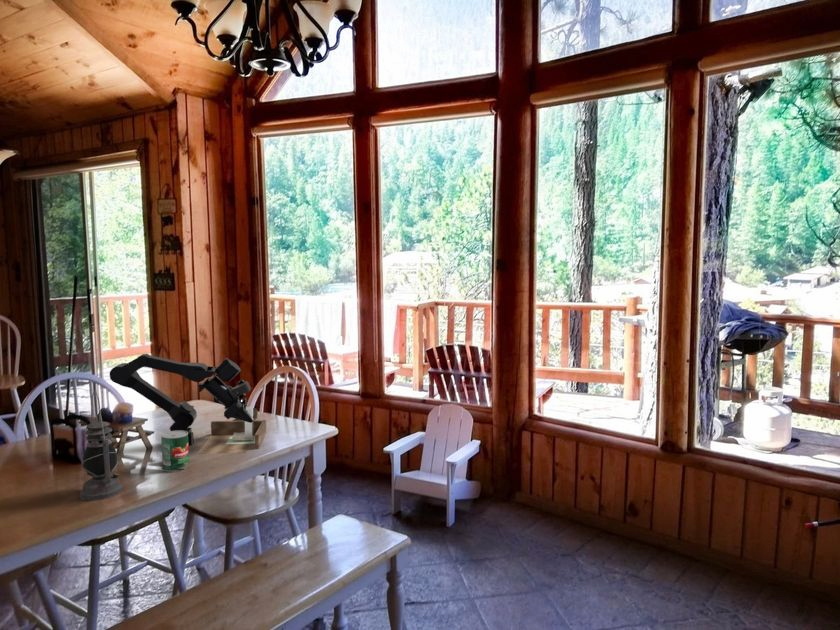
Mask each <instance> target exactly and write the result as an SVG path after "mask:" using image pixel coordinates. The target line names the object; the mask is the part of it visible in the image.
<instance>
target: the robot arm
mask: <svg viewBox="0 0 840 630" xmlns="http://www.w3.org/2000/svg"><path fill="white" fill-rule="evenodd" d="M142 368H149V369H152V370H153V369H154V370H156V371H163V372H167V373H172V374H176V375H179V376H182V377H184V378H185V379H186V380H189V381H192V382H195V383H198V384H197V385H198V392H199V393H201V392H202V391H203V390H206V391H207V392H208V393H209V394H210V395H211V396H212V397H214V398H215V402H217V403H220V404H222V405H223V406H224V412H223V416H224V418H226V419H227V420H230V419H239V420H243V421H246V422H249V423H252V422H253V420H252V418H251V417H250V416H249V415H248V413H247V412H246V411H245V407H249V406H248V404H247V397H246V395H247V394H248V393H250V391H251V390H252V387H251V385H250V382H248V381H247V380H246V381H245V380H244V379H240V380H239V381H238V382H237V383H238V385H237V384H236V385H235V386H234V387H232V386H231V385H227V384H226V382H228V383H230V382H231V381H232V380H233V379H234V378H235V377H236V376H237V375H238V374H239V373H240V372H241V371H242V370H241V368H240V366H239V365H238V364H237V363H236V362H234V361H232V360H231V359H229V358H228V357H225V358H224V359H223V361H221V363H220V364H219V365H218V366H211V365H207V364H206V363H203V362H183V361H176V360H172V359H169V358H163V357H160V356H155V355H150V354H149V353H143V354H141V355H138V357H136V358H134V359H133V360H131V361H128V363H127V362H124V363H123V362H121V363H119V364H117V365H116V366H113V367H112V368H111V370H110V371H109V378H110V381H111V382H113V383H115V384H117V385H119V386H121V387H124V388H129V389H132V390H133V391H135V392H137V393H138V394H140V395H141V396H143V398H145V399H147V400H149V401H150V402H152V403H153V404H154V405H156V406H157V407H159V408H160V409H161V410H164V411H165V412H166V413H167V414H168V415H169V417H170V418H171V420H173V423H172V424H171V426H170V427H169V430H170V431H176V430H183V431H187V432H188V446H191V445H193V444H194V432H193V431H192V427H191V426H192V425H193V424H194V422H195V420H196V419H197V417H198V414H197V410H196V409H195V406H194V405H191V404H190V403H189V402H187V400H183V401H182V403H181V402H177V401H176V400H174V399H172V398H171V397H170V396H169V395H167V394H165V393H164V392H163V391H161V390H159V389H158V388H156V387H155V386H154V385H152V384H151V383H149V382H147V381H146V380H144V379H143V378H142V376H140V374H139V372H138V370H140V369H142ZM243 398H244V399H243ZM253 418H254V415H253Z"/></svg>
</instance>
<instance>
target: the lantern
mask: <svg viewBox="0 0 840 630" xmlns="http://www.w3.org/2000/svg"><path fill="white" fill-rule="evenodd" d="M94 395H96V399H97V402H98V410H99V413H96V414H95V416H96V418H95V419H96V421H95V422H93V415H94V414H93V413H94ZM100 403H101V402H100V397H99V395H98V392H97V390H96V389H94V391H93V392H92V395H91V413H90V414H91V415H90V423H89V424H87V426H86V427H87V428H88V430H86V431H85V432H84V434H85V435H86V436H85V439H86V441H88V442H87V443H86V447H85V450H84V452H83V454H82V458H81V461H82V464H81V467H82V468H83V470H84V471H85V472H86V476H90V477H91V478H90V479H88V480H86V481H84V483H83V485H82V489H80V494H79V497H80V499H82V500H85V501H100V500H105V499H110V498H113V497H115V496H117V495H119V494H120V493H122V491H123V487H122V483H121V482H120V479H119V476H120V474H119V473H113V472H114V471H115V469H116V467H117V465H118V464H119V463H118V462H119V457H118V452H117V450H116V448H115V447H114V446H113V442H112V440H111V439H110V438H112V435H113V434H112V433H111V432H113V428H112V427H108V426H110V425H111V424H110V422H108V421H104V420H103V418H102V411H101V404H100ZM98 418H99V421H98ZM111 473H112V475H111Z"/></svg>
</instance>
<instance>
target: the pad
mask: <svg viewBox="0 0 840 630" xmlns="http://www.w3.org/2000/svg"><path fill="white" fill-rule="evenodd" d="M226 444H255V436H253V439H252V440H235V441H233V437H230V438H229V440H228V441H227V443H226Z"/></svg>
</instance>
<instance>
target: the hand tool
mask: <svg viewBox="0 0 840 630" xmlns="http://www.w3.org/2000/svg"><path fill="white" fill-rule="evenodd" d="M253 415H254V418H253V420H257V418H258V409H257V408H256V407H253ZM231 421H243V420H239V419H235V418H233V420H231Z"/></svg>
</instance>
